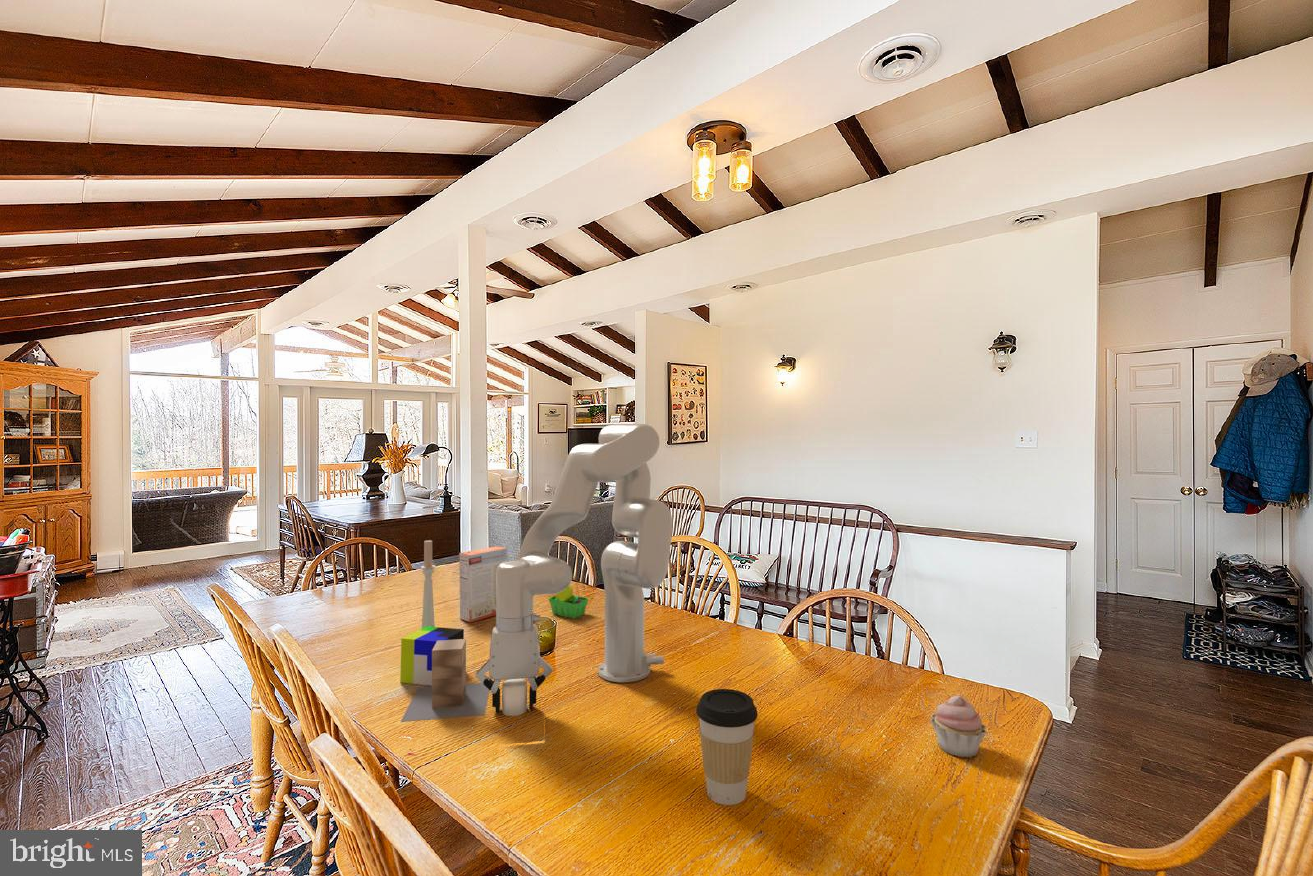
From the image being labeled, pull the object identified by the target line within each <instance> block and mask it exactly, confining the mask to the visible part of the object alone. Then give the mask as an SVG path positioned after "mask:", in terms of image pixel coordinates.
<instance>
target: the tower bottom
mask: <svg viewBox="0 0 1313 876" xmlns="http://www.w3.org/2000/svg"><path fill="white" fill-rule="evenodd" d="M466 676H467V666H466V667H465V670H464V673H463V676H462V677H458V678H444V679H432V708H438V707H451V706H462V704H463V701H464V698H465V694H466V684H467V677H466Z"/></svg>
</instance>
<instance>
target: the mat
mask: <svg viewBox="0 0 1313 876" xmlns="http://www.w3.org/2000/svg"><path fill="white" fill-rule="evenodd" d="M490 692H491V691H490V690H489V689H488V688H487V687H486V686H485V685H484V684H483V683H482V682H474V683H473V682H472V683H470V682H469V683H466V694H465V698H464V701H463V704H462V706H451V707H438V708H432V686H430V685H427V686H418V687H417V688H416V690H415V692H414V694H413V696H412V698H411V700H410V702H409V704H408V707H406V708H407V709H406V710H405V711H404V712H405V713H404V714H403V716H402V718H401V720H400V722H401V723H403V722H404V723H405V722H415V721H416V722H417V721H429V720H430V721H431V720H441V719H442V720H443V719H450V718H451V719H452V718H455V719H456V718H464V717H465V718H466V717H475V716H476V717H477V716H484V715H485V713H486V708H487V703H488V700H489V695H490Z"/></svg>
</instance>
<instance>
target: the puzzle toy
mask: <svg viewBox="0 0 1313 876" xmlns="http://www.w3.org/2000/svg"><path fill="white" fill-rule="evenodd" d="M464 633H465V629H464V628H453V627H439V626H435V627H429V626H427V627H425V628H422V627H421V629H419V630H416V631H414V632H412V633H410V634H408V635H406V636H404V637H402V638H401V643H400V644H401V645H400V649H401V650H400V674H399V675H400V676H399V677H400V678H399V679H400V680H399V681H400V682H399V683H401V684H409V685H410V684H411V685H420V686H421V685H423V686H432V650H433V648H434V646H435V644H436V642H437V641H439V640H456V639H465V637H464V636H465V635H464Z"/></svg>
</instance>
